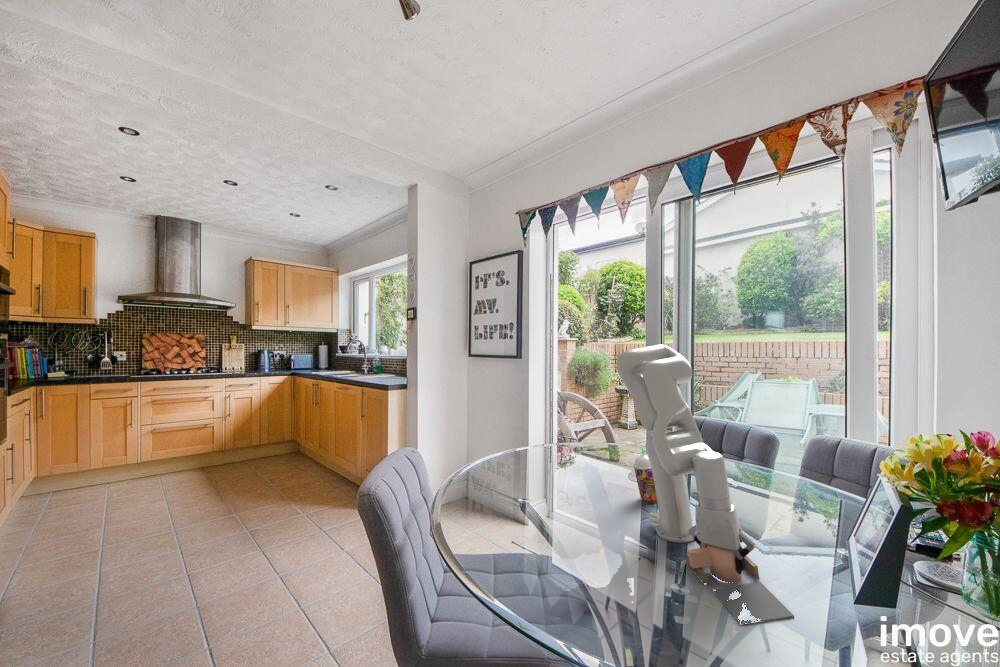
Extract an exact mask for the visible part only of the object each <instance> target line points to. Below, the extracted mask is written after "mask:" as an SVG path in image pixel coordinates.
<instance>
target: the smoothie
mask: <svg viewBox="0 0 1000 667" xmlns="http://www.w3.org/2000/svg"><path fill="white" fill-rule="evenodd" d="M632 464H633V469H634V473H635V477H636V482H637V487H638V491H639V496H640V498H641V500H642V502H644V503H646V502H647V503H646V504H654V503H653V502H655V503H657V497H656V490H655V484H654V478H653V473H652V468H651V464H650V461H649V458H648V455H647V453H646V454H645V450H644V447H641V454H639V455H638V456H637V457H636V458H635V459H634V462H633V463H632Z"/></svg>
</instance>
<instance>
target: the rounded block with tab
mask: <svg viewBox="0 0 1000 667" xmlns="http://www.w3.org/2000/svg"><path fill="white" fill-rule="evenodd" d="M706 545H707V547H704V548H700V547H699V548H693V549H692V548H691V549H687V552H688V554H689V560H690V565H691V567H692V568H699V567H702V568H704V567H709V570H710V574H711V573H712V575H714V576H715V577H717V578H718V579H720V580H722V581H725V582H728V583H727V584H729V582H730V584H735V582H736V583H738V582H740V581H741V578H742V573H741V574H738V573H737V568H736V562H735V558H736V557H737V556H736V555H735V553H734V551H733V550H729V549H725V548H721V547H717V546H713V545H709V544H706ZM712 575H711V576H712ZM739 580H740V581H739ZM737 581H738V582H737ZM732 582H733V583H732Z"/></svg>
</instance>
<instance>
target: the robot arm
mask: <svg viewBox="0 0 1000 667" xmlns="http://www.w3.org/2000/svg"><path fill="white" fill-rule="evenodd" d="M616 369H617V372H618V373H617V374H618V375H619V377H620V378H619V379H621V381H622V383H623V385H624V386H625V387H626V388H627V390H628V392H629V394H630V396H631V399H632V402H633V405H634V408H635V410H636V413H637V416H638V418H639V421H640V423H641V425H642V427H643V428H644V430H646V431H648V432H652V436H651V437H649V438H648V439H647V440H646V442H645V451H646V455H648V458H649V461H650V464H651V468H652V473H653V478H654V484H655V490H656V497H657V502H656V503H657V508H658V513H655V512H652V511H651V512H649V513H648V516H649V522H650V523H654V524H657V525H656V528H655V529H656V533H657V535H658V537H660V538H661V539H662V540H665V541H667V542H671V543H679V544H680V543H690V542H693V541H694V542H696V544H697V545H698V546H699V548H704V547H707V545H706V544H709V545H713V546H717V547H721V548H725V549H729V550H733V551H734V553H735V555H736V556H737V557H736V558H735V562H736V568H737V573H738V574H741V575H742V572H743V571H745V569H746V568H745V561H744V557H745V556H748V555H749V554H750V553H751V552H752V551H754V549H755V548H756V543H755V542H754V541H753V540H751V539H750V538H749V537H747V535H745V534H744V533H743V531H742V527H741V523H740V519H739V516H738V512H737V511H736V508H735V506H734V504H732V500H731V495H730V494H731V493H730V487H729V483H728V482H729V480H728V474H727V467H726V461H725V458H724V455H722V454H721V453H720V452H717V451H714V450H713V449H712V448H711V447H710V446H708V444H706V443H704V440H703V438H702V435H701V432H700V430H699V428H698V425H697V423H696V420H695V417H694V415H693V413H692V411H691V409H690V407H689V405H688V403H687V402H686V400H685V398H684V396H683V394H682V392H681V389H680V387H679V385H681V384H685V383H688V382H690V381H691V380H692V378H693V370H692V366H691V364H690V363H689V361H688V360H687V359H686V358H685V357H684V356H683V355H681V353H679V352H677V351H676V350H674V349H673V348H671V347H670V346H668V345H665V344H654V345H649V346H644V347H643V346H642V347H638V348H632V349H629V350H625V351H622V352H621V353H620V354H618V356H617V358H616ZM672 428H676V430H674V431H668V432H667V429H672ZM693 473H694V479H695V484H696V491H697V492H696V491H695V492H693V493H692V497H693V498H695V499H697V502H696V504H695V523H694V522H693V515H692V509H691V504H690V496H689V489H688V483H687V479H686V475H690V474H693ZM741 543H743V544H745V545H746V546H745V547H743V546H742V544H741Z"/></svg>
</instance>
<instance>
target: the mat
mask: <svg viewBox="0 0 1000 667" xmlns="http://www.w3.org/2000/svg"><path fill="white" fill-rule="evenodd" d="M715 589H716V591H714V592H715V593H716V594H715V593H714V592H713V593H714V594H715V596H716V597H717V598H718V599H719V600H720V602H721V601H722V602H723V603H724V604H725V606H726V607H725V606H724V607H725V608H726V610H728V612H729V613H730V614H731V616H732V615H733V616H734V617H735V618H736V619H735V618H734V617H733V616H732V617H733V618H734V619H735V621H736V620H737V621H738V620H739V619H738V616H739V615H740V612H741V611H742V609H743V607H742V604H743V603H744V605H746V607H747V610H749V611H750V613H751V615H752V616H754V617H755V618H757V619H758V618H759V619H761V620H760V621H767V622H773V621H779V620H784V619H791V618H792V619H793V618H795V615H794V614H793V612H791V611H790V610H789V609H788V607H786V606H785V605H784V604H783V603H782V602H781V601H780V600H779V599H778V598H777V597H776V596H775V595H774V594H773V593H772V592H771V591H770V590H769V589H768V588H767V587H766V586H765V584H763V583H762V582H761V581H755V582H748V583H741V584H735V585H728V586H723V587H717V588H715ZM736 590H737V591H738V592H739V594H740V593H741V596H740V597H739V598H737V599H734V600H732V599H730V600H729V596H730V594H732V592H733V593H734V591H736ZM737 591H736V592H737ZM727 600H728V601H727ZM722 602H721V603H722ZM723 603H722V604H723ZM745 603H746V604H745ZM724 604H723V605H724ZM746 607H745V609H746ZM751 615H750V616H751ZM757 619H756V620H757ZM737 621H736V622H737ZM757 621H758V620H757ZM738 622H739V623H740V620H739V621H738ZM738 622H737V623H738ZM751 622H752V621H751V620H749V621H748V620H747V621H744V620H742V621H741V624H745V623H751ZM754 622H755V621H754ZM739 623H738V624H739Z"/></svg>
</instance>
